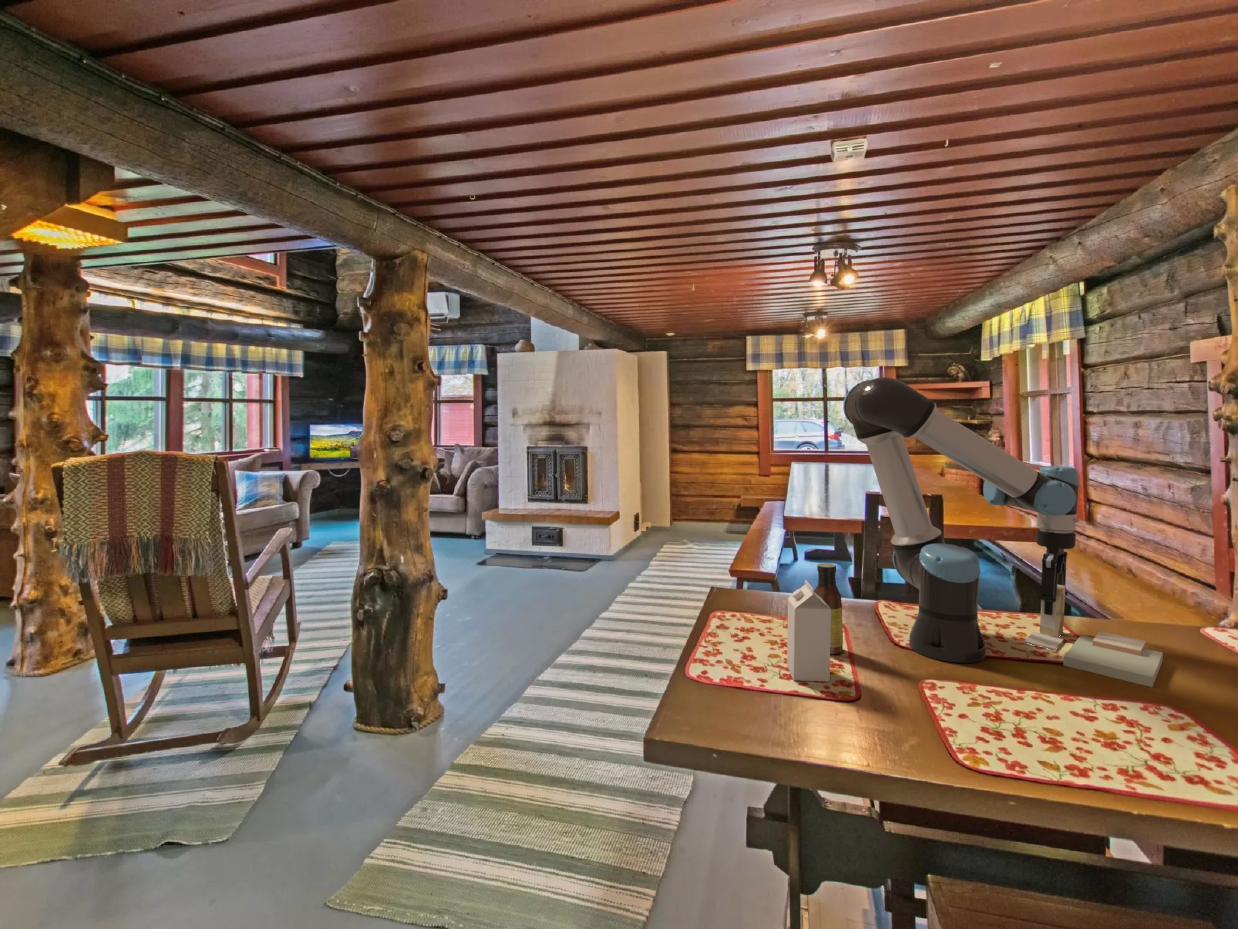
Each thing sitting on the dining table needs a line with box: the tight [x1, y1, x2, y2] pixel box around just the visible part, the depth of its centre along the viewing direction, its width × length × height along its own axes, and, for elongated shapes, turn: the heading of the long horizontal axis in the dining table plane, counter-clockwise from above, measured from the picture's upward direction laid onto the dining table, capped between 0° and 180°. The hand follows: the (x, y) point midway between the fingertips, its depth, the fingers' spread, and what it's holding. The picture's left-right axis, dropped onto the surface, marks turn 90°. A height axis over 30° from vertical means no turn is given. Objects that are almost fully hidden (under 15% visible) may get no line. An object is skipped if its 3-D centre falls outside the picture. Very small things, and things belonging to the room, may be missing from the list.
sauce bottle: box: [814, 562, 844, 655], centre depth 131 cm, size 7×6×20 cm
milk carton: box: [786, 579, 831, 683], centre depth 119 cm, size 7×7×19 cm
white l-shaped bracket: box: [1023, 584, 1066, 651], centre depth 137 cm, size 15×6×12 cm, turn 132°
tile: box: [1093, 631, 1147, 656], centre depth 128 cm, size 8×8×1 cm
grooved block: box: [1063, 634, 1164, 688], centre depth 123 cm, size 18×14×2 cm
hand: (1051, 623), depth 140 cm, fingers closed on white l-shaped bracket, 6 cm apart
